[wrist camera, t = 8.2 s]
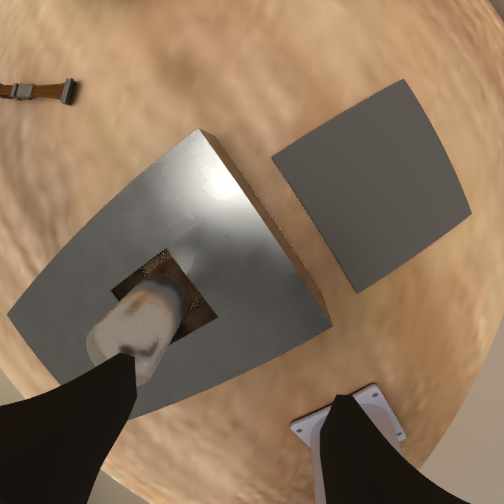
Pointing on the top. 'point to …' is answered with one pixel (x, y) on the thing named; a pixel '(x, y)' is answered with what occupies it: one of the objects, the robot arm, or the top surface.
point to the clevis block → (194, 266)
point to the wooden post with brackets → (38, 91)
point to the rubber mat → (376, 184)
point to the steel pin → (144, 320)
